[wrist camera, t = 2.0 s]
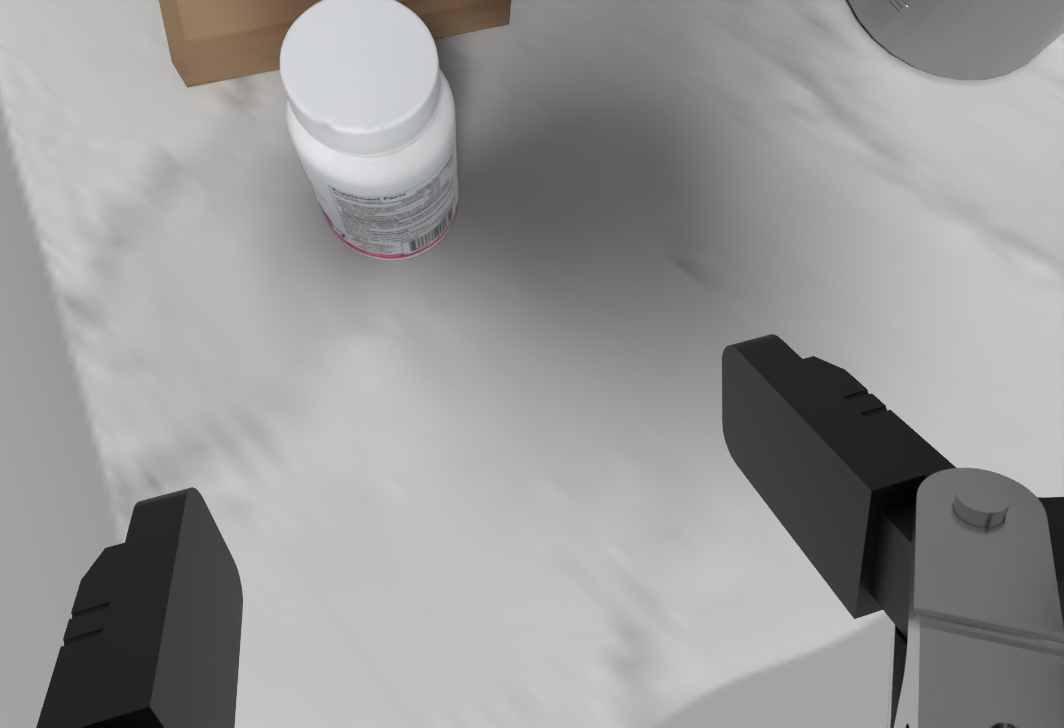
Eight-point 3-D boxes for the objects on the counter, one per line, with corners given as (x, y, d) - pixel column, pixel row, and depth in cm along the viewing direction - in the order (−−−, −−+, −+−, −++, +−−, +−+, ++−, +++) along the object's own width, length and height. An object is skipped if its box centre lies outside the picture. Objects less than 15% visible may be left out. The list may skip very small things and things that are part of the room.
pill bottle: (323, 140, 28) (264, -26, 20) (456, 139, 29) (452, -24, 20) (322, 266, 27) (260, 145, 19) (461, 263, 28) (458, 143, 19)
